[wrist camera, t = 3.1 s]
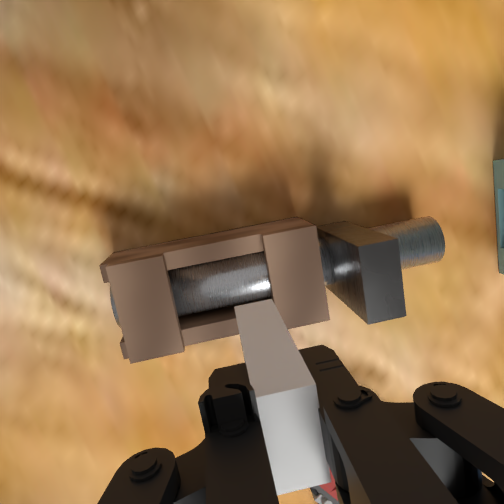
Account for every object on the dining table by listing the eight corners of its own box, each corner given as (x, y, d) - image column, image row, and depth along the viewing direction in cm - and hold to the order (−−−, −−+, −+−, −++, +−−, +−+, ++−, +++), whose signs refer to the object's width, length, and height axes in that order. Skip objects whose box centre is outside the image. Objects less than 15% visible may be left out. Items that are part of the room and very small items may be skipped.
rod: (130, 325, 27) (103, 382, 19) (115, 266, 26) (81, 303, 19) (421, 264, 28) (498, 295, 21) (416, 206, 28) (494, 218, 20)
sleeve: (134, 334, 27) (121, 365, 23) (113, 252, 26) (95, 268, 22) (309, 296, 28) (330, 320, 24) (296, 216, 27) (316, 225, 23)
